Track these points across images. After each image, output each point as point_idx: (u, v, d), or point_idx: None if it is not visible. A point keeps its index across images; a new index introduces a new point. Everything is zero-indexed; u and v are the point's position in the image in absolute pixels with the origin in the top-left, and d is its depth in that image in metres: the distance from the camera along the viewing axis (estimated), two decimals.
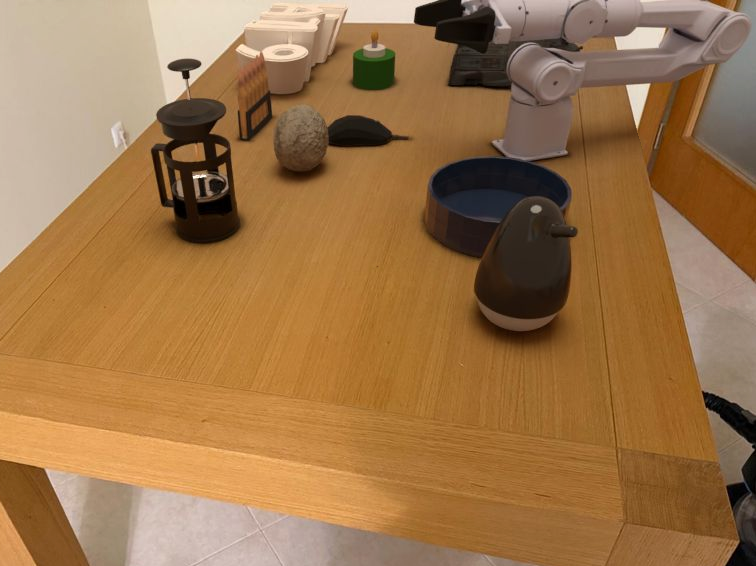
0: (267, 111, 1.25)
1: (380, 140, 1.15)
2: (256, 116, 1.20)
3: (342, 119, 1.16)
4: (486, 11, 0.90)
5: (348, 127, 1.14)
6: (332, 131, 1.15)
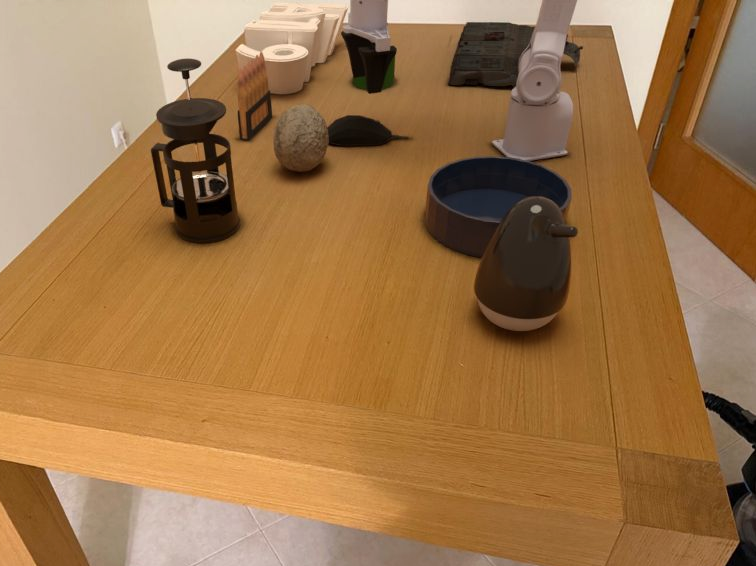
0: (267, 111, 1.25)
1: (380, 140, 1.15)
2: (256, 116, 1.20)
3: (342, 119, 1.16)
4: (362, 56, 1.03)
5: (348, 127, 1.14)
6: (332, 131, 1.15)
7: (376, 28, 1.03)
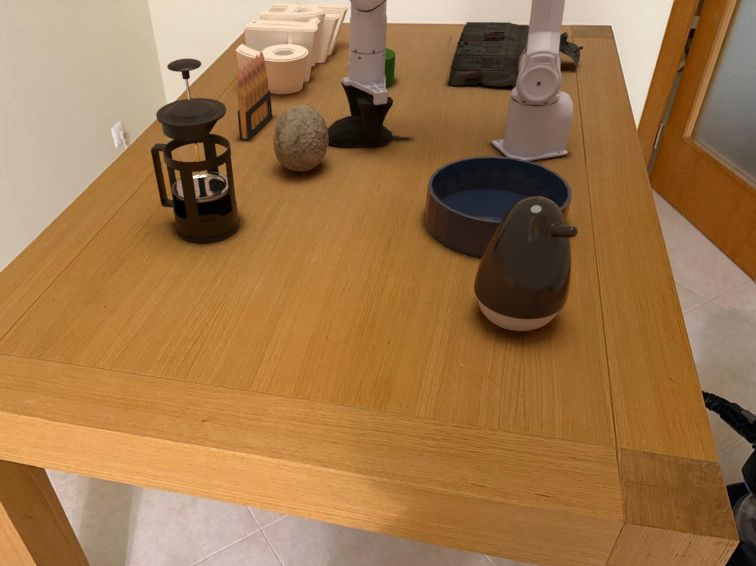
0: (267, 111, 1.25)
1: (381, 141, 1.15)
2: (256, 116, 1.20)
3: (342, 120, 1.16)
4: (360, 107, 1.09)
5: (349, 127, 1.14)
6: (333, 132, 1.15)
7: (374, 81, 1.09)
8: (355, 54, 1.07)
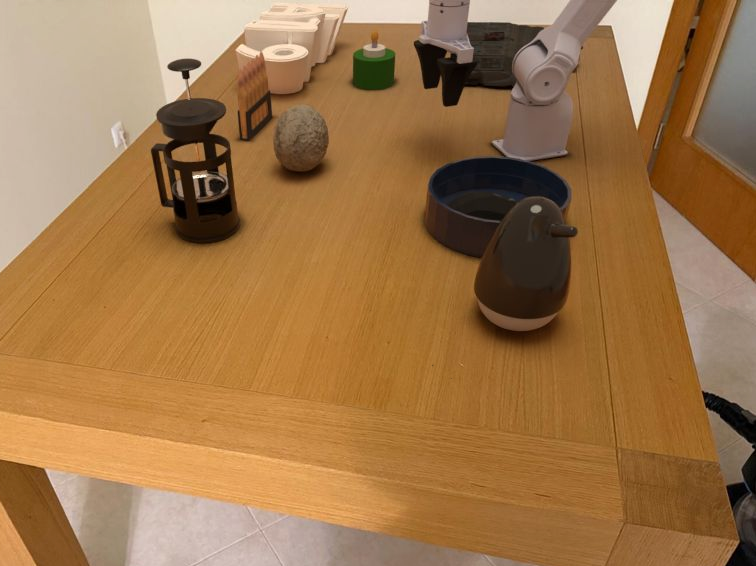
0: (267, 111, 1.25)
1: None
2: (256, 116, 1.20)
3: (467, 197, 0.93)
4: (441, 68, 0.98)
5: (477, 208, 0.91)
6: None
7: (456, 38, 0.98)
8: (437, 7, 0.96)
